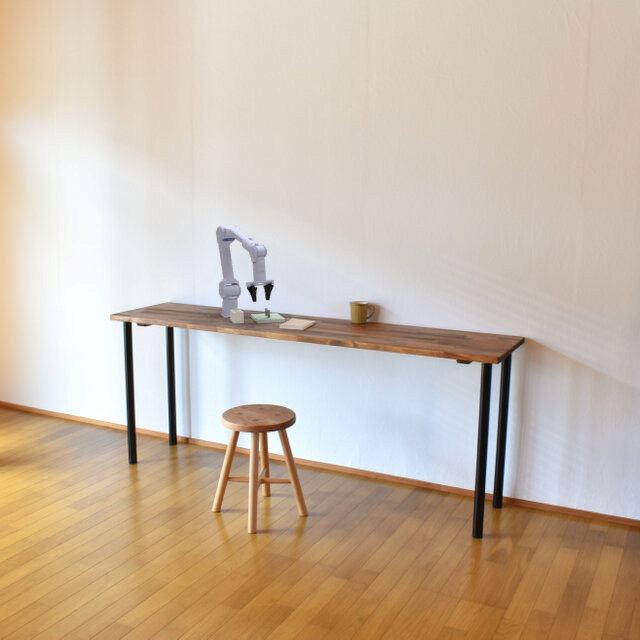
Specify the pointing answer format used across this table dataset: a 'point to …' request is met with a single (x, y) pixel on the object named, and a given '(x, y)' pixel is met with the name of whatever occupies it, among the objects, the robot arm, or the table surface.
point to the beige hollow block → (237, 316)
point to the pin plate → (267, 317)
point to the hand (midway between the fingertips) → (261, 301)
